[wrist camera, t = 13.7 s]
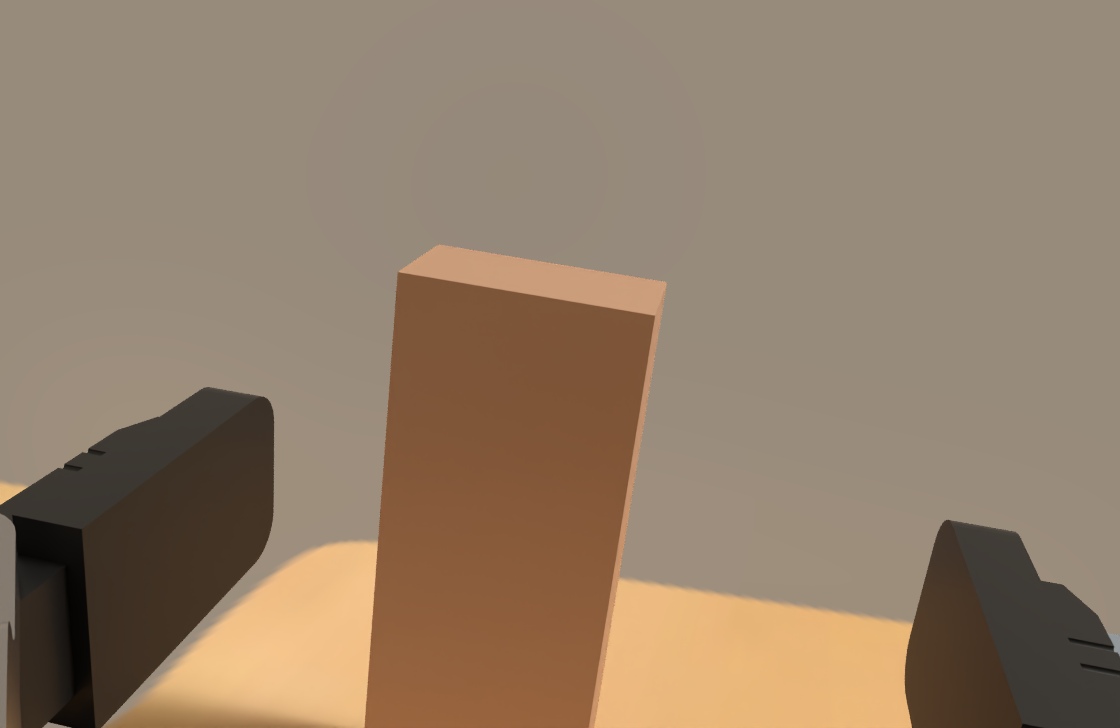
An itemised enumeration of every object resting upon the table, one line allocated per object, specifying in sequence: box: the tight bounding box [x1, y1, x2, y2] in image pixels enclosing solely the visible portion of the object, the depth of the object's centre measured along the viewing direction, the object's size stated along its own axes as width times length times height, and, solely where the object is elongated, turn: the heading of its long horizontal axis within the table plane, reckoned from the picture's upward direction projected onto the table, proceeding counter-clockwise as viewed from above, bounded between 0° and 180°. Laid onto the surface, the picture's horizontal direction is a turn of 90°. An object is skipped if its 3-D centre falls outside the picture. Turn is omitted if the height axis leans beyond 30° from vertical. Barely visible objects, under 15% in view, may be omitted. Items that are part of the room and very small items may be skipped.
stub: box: [365, 245, 667, 728], centre depth 25 cm, size 6×3×14 cm, turn 80°
